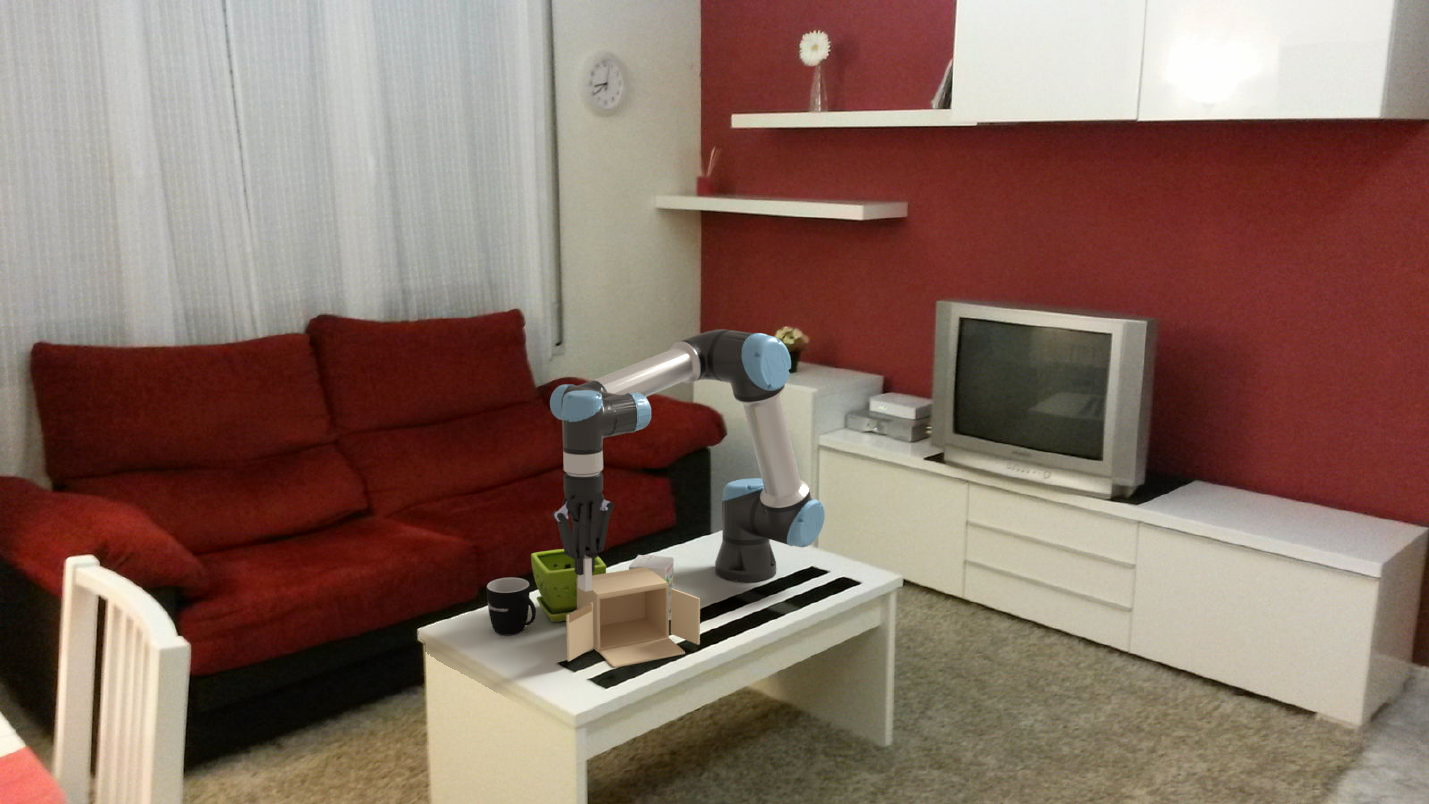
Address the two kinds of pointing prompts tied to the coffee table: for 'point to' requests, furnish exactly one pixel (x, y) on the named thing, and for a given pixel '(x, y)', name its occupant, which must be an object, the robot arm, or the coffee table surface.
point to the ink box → (657, 568)
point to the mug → (509, 605)
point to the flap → (579, 631)
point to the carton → (638, 616)
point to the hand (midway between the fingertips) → (584, 588)
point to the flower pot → (558, 582)
